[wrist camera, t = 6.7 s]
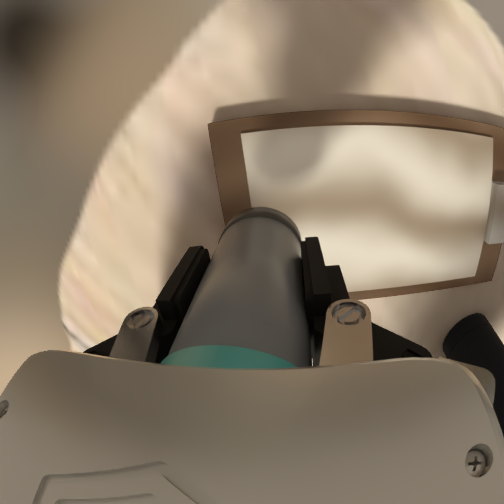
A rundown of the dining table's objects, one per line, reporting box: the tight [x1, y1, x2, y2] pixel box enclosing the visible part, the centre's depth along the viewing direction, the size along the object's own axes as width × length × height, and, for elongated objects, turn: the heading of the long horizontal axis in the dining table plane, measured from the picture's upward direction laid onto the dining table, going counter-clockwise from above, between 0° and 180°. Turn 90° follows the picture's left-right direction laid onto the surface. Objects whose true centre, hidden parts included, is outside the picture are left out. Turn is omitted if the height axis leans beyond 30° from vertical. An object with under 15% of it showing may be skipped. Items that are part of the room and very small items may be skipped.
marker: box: [160, 207, 312, 368], centre depth 9 cm, size 4×4×12 cm
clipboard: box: [208, 110, 504, 300], centre depth 17 cm, size 14×24×2 cm, turn 98°
